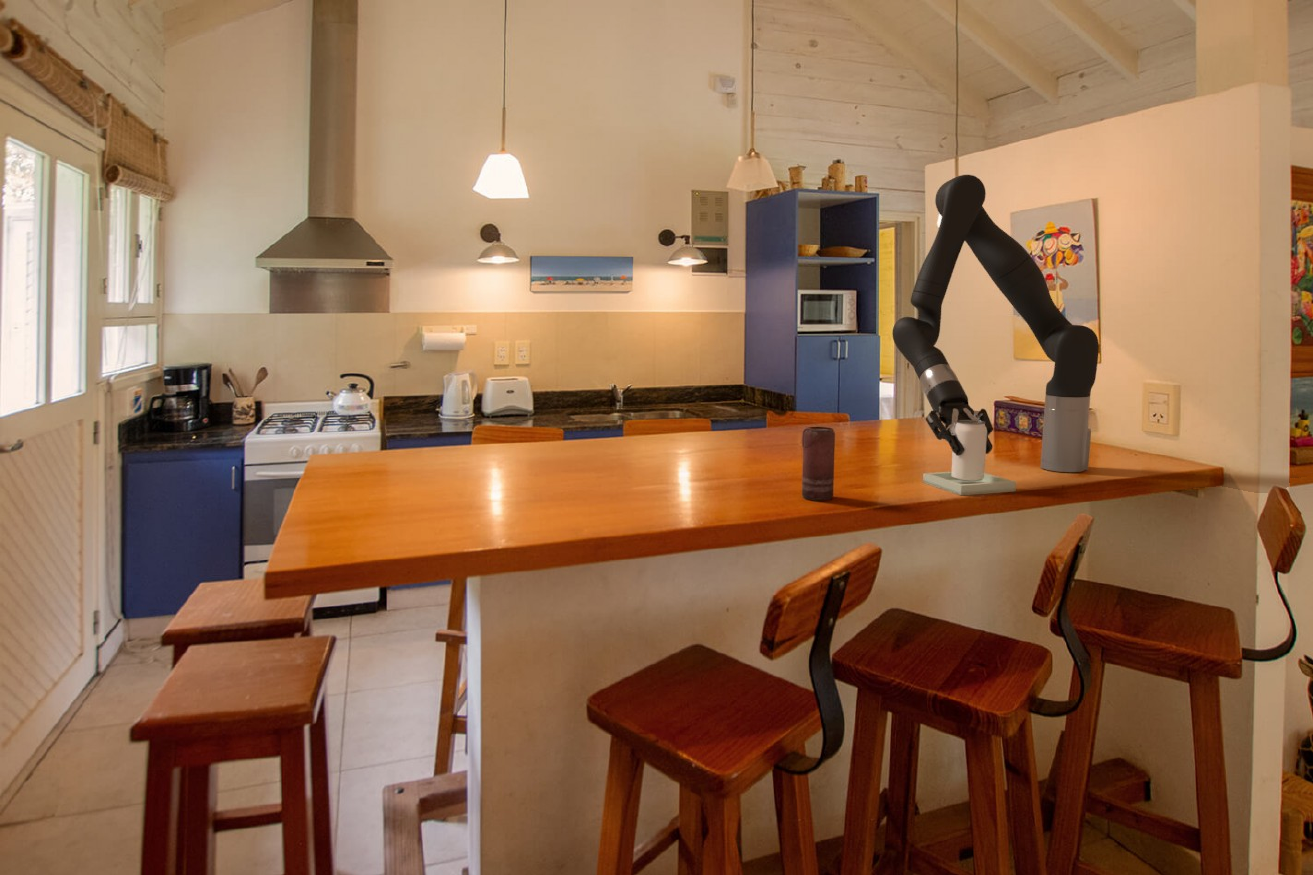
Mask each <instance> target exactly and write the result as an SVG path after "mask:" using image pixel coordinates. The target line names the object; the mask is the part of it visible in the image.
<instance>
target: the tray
mask: <svg viewBox="0 0 1313 875" xmlns="http://www.w3.org/2000/svg"><path fill="white" fill-rule="evenodd" d="M951 472H952V471H943V472H942V471H939V472H928V473H925V472H924V473H923V474H922V483H923V482H924V483H923V484H926V485H928V486H932V487H935V488H938V489H940V490H943V491H947V492H950V493H952V494H956V495H958V496H972V495H986V494H987V495H988V494H999V493H1009V492H1016V491H1017V490H1016V489H1017V481H1015V480H1012V479H1008V478H1004V477H1001V476H997V475H993V474H992V473H991V474H990V473H987V472H984V478H983V479H982V480H980V481H962V480H957V479H954V478H953V477H952V476H951Z"/></svg>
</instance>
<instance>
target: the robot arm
mask: <svg viewBox="0 0 1313 875" xmlns="http://www.w3.org/2000/svg"><path fill="white" fill-rule="evenodd" d="M935 194H936V195H935V199H934V200H935V201H934V204H935V207H936V210H937V212H938V214H939V215H940V216H941V219H940V223H939V228H938V230H937V233H936V235H935V238H934V240H933V243H932V245H931V247H930V249H929V250H928V251H929V252H928V253H927V255H926V257H925V259H924V261H923V263H922V264H921V267H920V270H919V273H918V275H917V277H916V281H915V284H914V287H913V290H912V293H911V297H910V303H911V305H912V306H913V307H914V308H916V310H917V318H915V317H911V316H903V317H901V318H899V319H898V320H897V321H896V322H895V323H894V326H893V328H892V340H893V342H894V344H895V346H896V348H897V349H898V351H899V352H900V353H901V354H902V356H903V357H904V358H905V359H906V360H907V362H909V364H910V365H911V366H912V367H913V370H914V372H915V373H916V375H917V378H918V380H919V383H920V385H921V388H922V391H923V393H924V395H925V397H926V400H927V401H928V403H929V405H930V407H931V410H930V411H929V413H928V415H927V416H926V417H925V421H926V423H927V425H928V427H930V429H931V431H932V432H933V434H934V436H935V437H936V438H937V440H939V441H941V440H945V442H947V443H948V444H949V447H950V449H951V450H952V451H951V452H952V453H953V452H954V453H955V454H956V455H957V456H958V455H961V454H962V453H963V452H964V447H963V445H962V444H961V443H960V441H959V440H958V438H957V436H955V435H956V433H955V426H956V424H957V422H956V421H958V420H977V421H983V422H985V426H986V429H987V440H986V455H988V454H990V452H991V451H992V450H993V446H994V445H993V443H992V442H991V440H990V438H989V436H990V434H991V433H992V432H993V431H994V428H993V427H994V426H993V424H992V422H991V419H990V417H989V415H988V412H987V410H986V409H985V408H981V409H979V410H974V409H973V408H972V407H971V406H970V404H969V397H968V395H967V394H966V392H965V390H964V388H963V386H962V383H961V382H960V380H959V378H958V377H957V374H956V373H955V371H954V370H953V369H952V367H951V365H950V363H949V362H948V360H947V358H946V356H945V355H944V353H943V351H942V350H941V349H939V348H938V347H936V346H935V345H936V344H937V342H938V340H939V336H940V333H941V321H942V306H943V303H944V299H945V296H946V294H947V291H948V287H949V284H950V281H951V278H952V276H953V273H954V270H955V267H956V264H957V261H958V258H959V256H960V253H961V250H962V248H963V245H964V243H966V244H967V245H968V246H969V248H970V250H971V251H972V253H973V254H974V256H975V258H976V259H977V261H978V262H979V264H980V265H981V266H982V267H983V269H984V270H985V271H986V273H987V274H988V276H989V278H990V279H991V280H992V282H993V283H994V284H995V286H996V287H997V288H998V289H999V291H1000V293H1002V295H1003V296H1004V297H1005V298H1006V299H1007V301H1008V302H1009V303H1010V304H1011V306H1012V307H1013V308H1014V309H1015V311H1016V312H1017V313H1018V314H1019V315H1020V316H1021V318H1022V319H1023V320H1024V321H1025V323H1026V324H1027V325H1028V327H1029V329H1030V330H1031V332H1032V333H1033V336H1034V337H1035V338H1036V340H1037V342H1038V344H1039V346H1040V348H1041V349H1042V350H1043V353H1044V354H1045V355H1046V356H1047V358H1048V359H1049V360H1050V361H1052V362H1053V363H1054V367H1053V374H1052V377H1051V379H1050V380H1049V381H1048V382H1047V383H1046V386H1045V398H1044V410H1043V411H1044V412H1043V426H1042V439H1041V440H1042V441H1041V442H1042V443H1041V456H1040V457H1041V458H1040V468H1041V469H1044V470H1047V471H1050V472H1057V473H1058V472H1061V473H1081V472H1085V471H1088V470H1089V467H1090V466H1089V462H1090V451H1091V438H1092V430H1091V428H1089V418H1090V405H1091V393H1092V391H1091V390H1092V388H1093V386H1094V384H1095V382H1096V377H1097V370H1098V361H1099V353H1100V351H1099V350H1100V346H1099V345H1100V344H1099V339H1098V336H1097V334H1096V332H1095V331H1094V330H1093V329H1092V328H1090V327H1088V326H1086V325H1085V326H1084V325H1080V324H1073V323H1071V322H1070V321H1069V320H1068V319H1067V317H1066V316H1065V315H1064V314H1063V313H1062V312H1061V311H1060V309H1059V308H1058V307H1057V305H1056V304H1055V302H1054V300H1053V299H1052V297H1051V293H1050V290H1049V287H1048V283H1047V280H1046V278H1045V276H1044V274H1043V273H1044V272H1042V270H1041V268H1040V267H1039V265H1038V264H1037V263H1036V260H1034V258H1033V257H1032V256H1031V254H1030V253H1029V252H1028V251H1027V250H1026V249H1025V248H1024V247H1023V246H1022V244H1020V243H1019V242H1018V241H1017V240H1016V239H1015V238H1013V237H1012V236H1011V235H1009V233H1007V232H1006V231H1004V230H1003V229H1002V228H1001V227H999V226H998V225H997V224H996V223H995V222H994V221H993V220H992V218H991V217H990V216H989V214H988V213H987V211H986V210H985V208H984V206H983V205H984V202H986V201H985V200H986V196H987V193H986V187H985V185H984V183H983V181H982V180H981V179H980V178H979V177H977V176H976V175H973V174H962V175H958V176H956V177H953V178H952V179H949V180H947V181H946V182H944V183H943V184H942V185H941V186H940V187H939V188H938V189H937V191H936V193H935Z"/></svg>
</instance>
